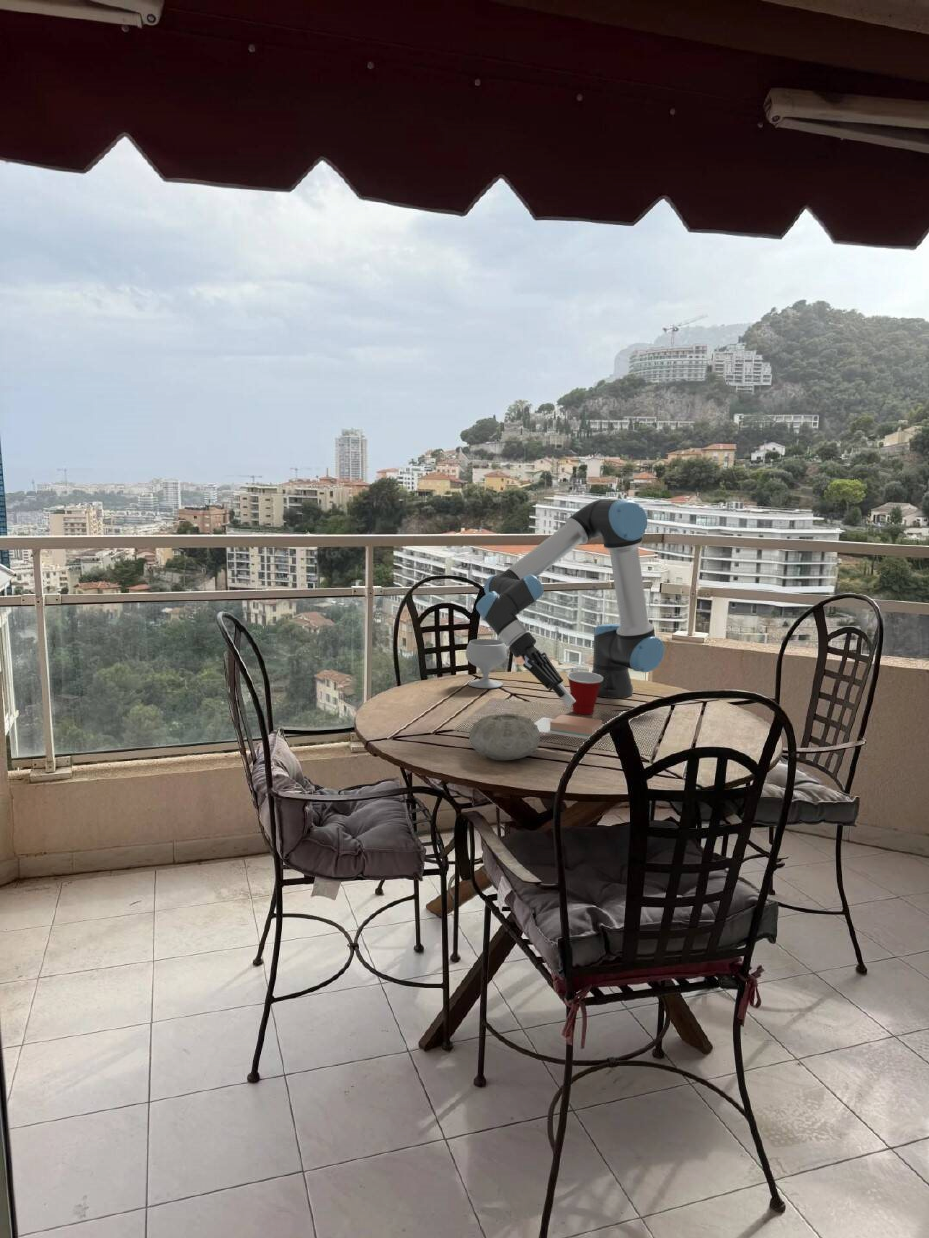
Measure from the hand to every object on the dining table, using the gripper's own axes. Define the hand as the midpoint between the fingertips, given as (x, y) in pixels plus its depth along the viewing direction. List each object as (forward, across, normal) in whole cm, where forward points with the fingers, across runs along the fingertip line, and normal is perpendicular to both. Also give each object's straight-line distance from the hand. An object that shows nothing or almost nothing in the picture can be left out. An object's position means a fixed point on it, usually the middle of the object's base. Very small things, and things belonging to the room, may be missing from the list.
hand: (571, 704), depth 226 cm
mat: (+5, 0, -6) cm, 8 cm away
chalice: (-25, -37, -36) cm, 57 cm away
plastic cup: (+4, -18, -7) cm, 20 cm away
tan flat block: (+1, 0, -7) cm, 7 cm away
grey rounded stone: (0, +28, -11) cm, 30 cm away
